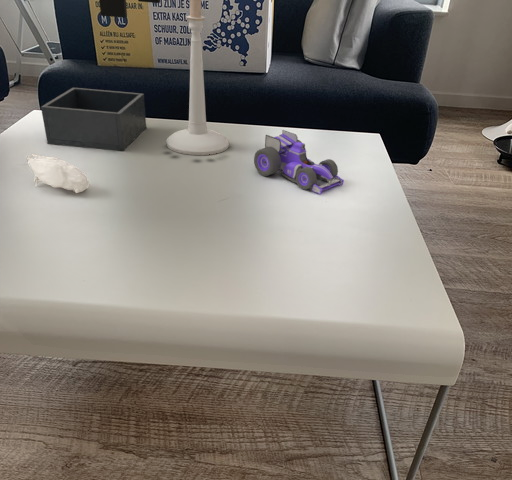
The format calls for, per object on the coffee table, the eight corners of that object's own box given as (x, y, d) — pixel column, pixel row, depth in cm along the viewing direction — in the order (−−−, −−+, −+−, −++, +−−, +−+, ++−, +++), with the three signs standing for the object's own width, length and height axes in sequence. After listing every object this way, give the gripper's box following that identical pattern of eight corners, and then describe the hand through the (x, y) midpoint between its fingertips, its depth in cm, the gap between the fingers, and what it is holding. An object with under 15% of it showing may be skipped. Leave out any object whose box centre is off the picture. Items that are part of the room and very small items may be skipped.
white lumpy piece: (29, 199, 91) (80, 193, 87) (16, 156, 88) (69, 149, 85) (47, 193, 95) (97, 188, 92) (35, 153, 92) (86, 145, 89)
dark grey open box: (47, 143, 108) (40, 106, 104) (77, 121, 121) (72, 87, 116) (123, 151, 107) (119, 113, 103) (146, 127, 119) (143, 93, 115)
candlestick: (233, 137, 117) (237, -31, 98) (222, 158, 107) (224, -26, 88) (175, 132, 118) (168, -36, 99) (158, 151, 108) (147, -31, 89)
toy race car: (315, 197, 94) (319, 159, 90) (252, 172, 102) (254, 136, 98) (347, 183, 99) (353, 148, 95) (286, 160, 107) (289, 126, 103)
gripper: (107, -289, 42) (131, 26, 55) (183, -222, 61) (187, -1, 74) (13, -293, 42) (59, 20, 55) (118, -225, 62) (134, -5, 75)
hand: (133, 9), depth 65 cm, fingers open, 13 cm apart
